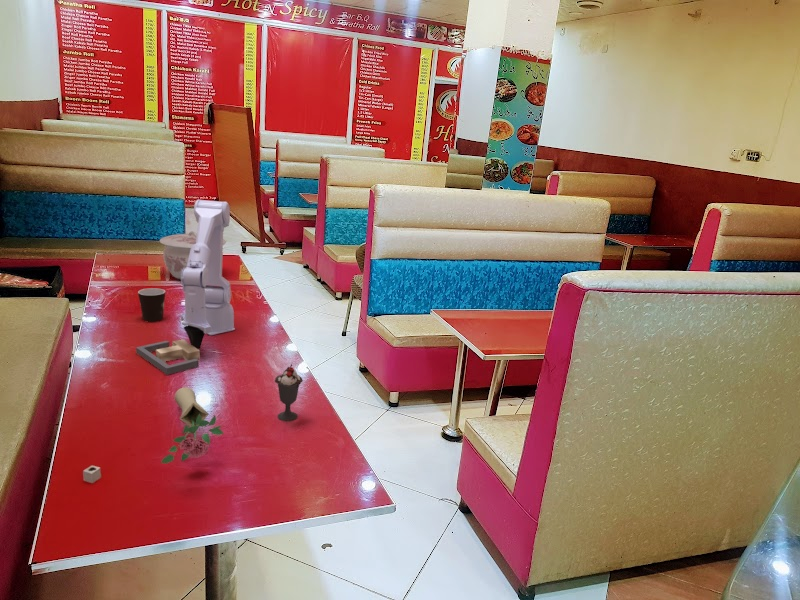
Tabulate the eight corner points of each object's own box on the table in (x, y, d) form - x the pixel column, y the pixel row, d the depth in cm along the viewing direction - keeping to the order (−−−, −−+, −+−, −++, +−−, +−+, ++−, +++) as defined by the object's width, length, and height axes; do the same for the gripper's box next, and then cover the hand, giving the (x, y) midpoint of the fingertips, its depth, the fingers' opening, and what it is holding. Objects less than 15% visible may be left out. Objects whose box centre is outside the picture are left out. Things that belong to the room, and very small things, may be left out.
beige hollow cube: (92, 475, 113) (91, 464, 112) (101, 477, 112) (100, 466, 112) (83, 480, 111) (82, 469, 110) (92, 483, 110) (91, 472, 110)
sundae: (288, 426, 137) (290, 369, 133) (268, 417, 140) (269, 361, 136) (306, 416, 142) (309, 361, 138) (286, 407, 146) (288, 353, 141)
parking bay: (167, 346, 176) (166, 340, 176) (198, 366, 165) (198, 360, 164) (136, 353, 170) (136, 347, 169) (166, 375, 158) (166, 368, 157)
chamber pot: (214, 288, 239) (214, 239, 233) (149, 282, 238) (147, 234, 232) (234, 272, 266) (234, 228, 260) (175, 267, 265) (174, 223, 259)
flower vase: (200, 433, 144) (223, 484, 113) (149, 426, 139) (159, 477, 108) (212, 388, 145) (239, 426, 114) (162, 379, 139) (176, 416, 108)
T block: (183, 348, 176) (183, 339, 176) (199, 359, 169) (199, 350, 168) (151, 354, 170) (150, 345, 169) (166, 367, 162) (166, 357, 161)
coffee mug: (156, 324, 193) (155, 296, 190) (134, 321, 195) (132, 293, 192) (176, 314, 204) (175, 288, 201) (154, 311, 206) (153, 284, 203)
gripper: (170, 302, 171) (172, 344, 175) (195, 315, 162) (196, 359, 166) (192, 298, 176) (193, 339, 180) (217, 310, 167) (217, 353, 171)
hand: (196, 348), depth 173 cm, fingers closed
